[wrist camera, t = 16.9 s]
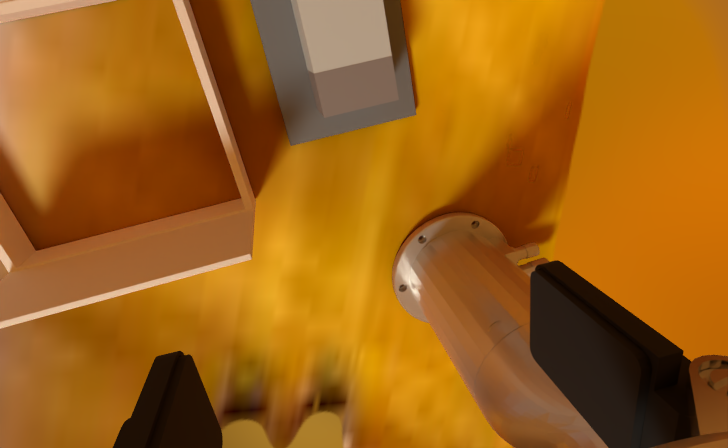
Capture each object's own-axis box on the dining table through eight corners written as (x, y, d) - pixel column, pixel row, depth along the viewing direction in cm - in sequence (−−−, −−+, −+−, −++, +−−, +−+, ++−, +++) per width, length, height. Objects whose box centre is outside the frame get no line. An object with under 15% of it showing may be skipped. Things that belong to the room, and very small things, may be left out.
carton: (179, -28, 29) (134, -66, 19) (255, 201, 36) (251, 259, 27) (-112, 28, 27) (-331, 18, 17) (32, 259, 34) (-63, 345, 24)
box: (351, -81, 29) (366, -104, 25) (381, 92, 35) (398, 99, 30) (274, -67, 29) (276, -87, 24) (316, 108, 34) (324, 117, 29)
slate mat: (379, -129, 29) (381, -133, 29) (413, 113, 36) (416, 114, 36) (222, -102, 28) (221, -105, 27) (290, 144, 35) (290, 145, 35)
